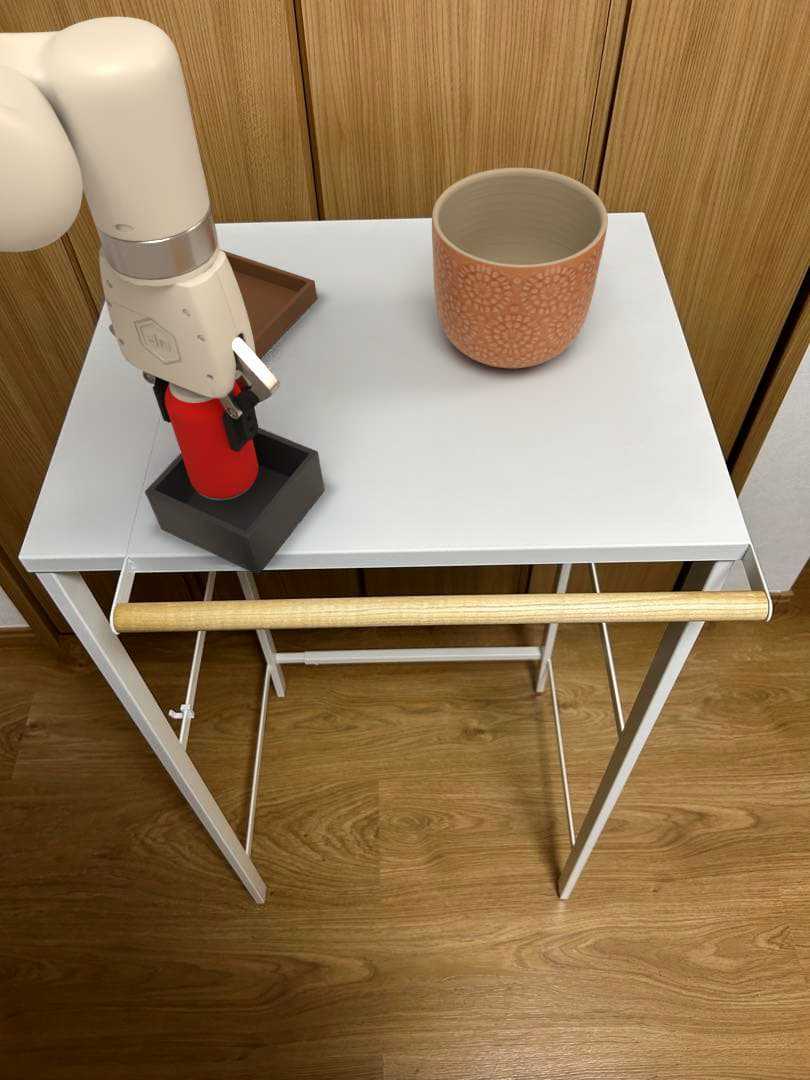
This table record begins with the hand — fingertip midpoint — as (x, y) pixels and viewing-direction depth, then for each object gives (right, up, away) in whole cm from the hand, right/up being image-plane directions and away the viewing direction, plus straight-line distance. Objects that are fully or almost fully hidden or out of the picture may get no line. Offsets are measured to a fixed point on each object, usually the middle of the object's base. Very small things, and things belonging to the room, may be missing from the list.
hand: (211, 424), depth 70 cm
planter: (+28, +13, +23) cm, 39 cm away
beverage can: (0, -4, +6) cm, 7 cm away
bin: (+1, -7, +10) cm, 12 cm away
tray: (-4, +17, +27) cm, 32 cm away
